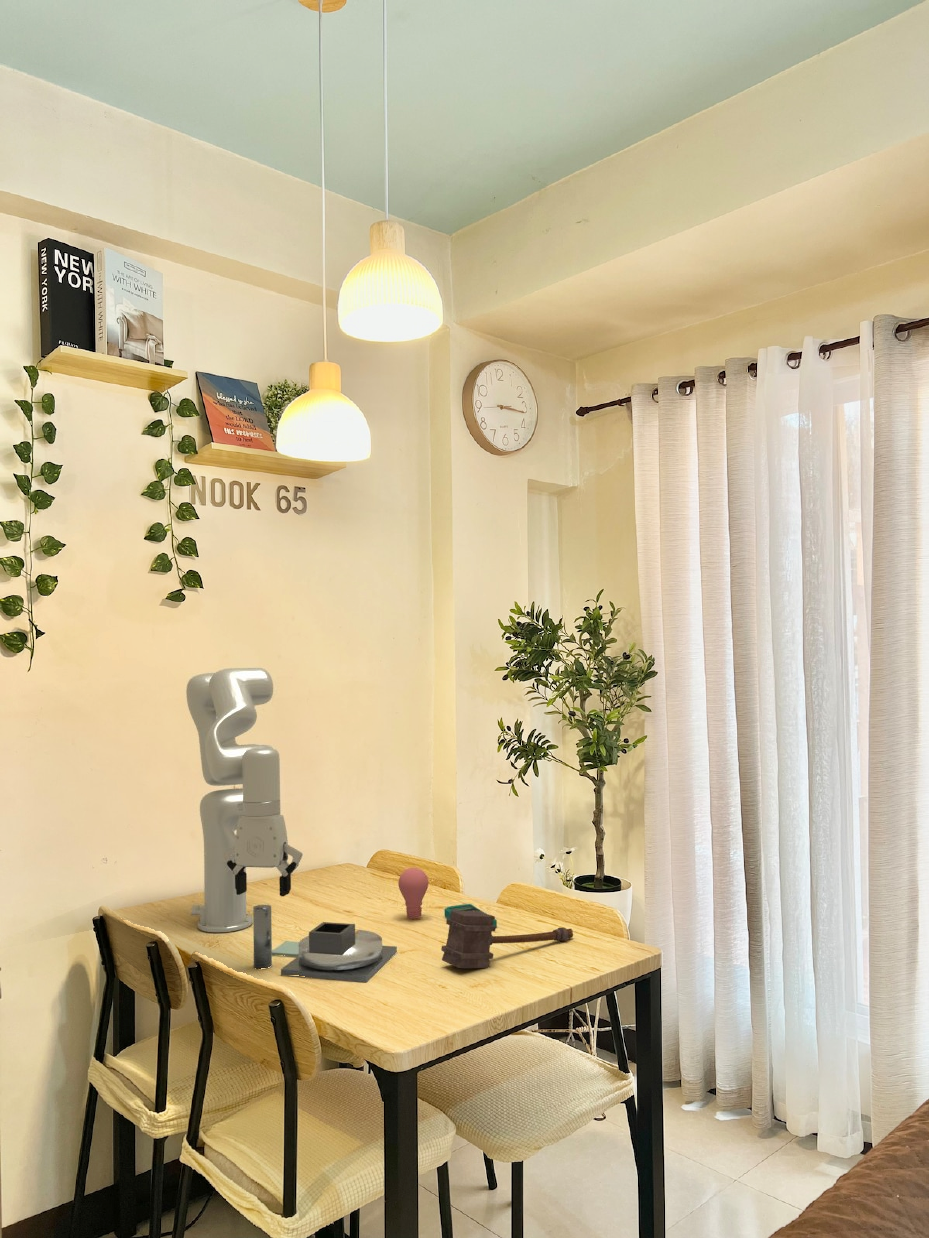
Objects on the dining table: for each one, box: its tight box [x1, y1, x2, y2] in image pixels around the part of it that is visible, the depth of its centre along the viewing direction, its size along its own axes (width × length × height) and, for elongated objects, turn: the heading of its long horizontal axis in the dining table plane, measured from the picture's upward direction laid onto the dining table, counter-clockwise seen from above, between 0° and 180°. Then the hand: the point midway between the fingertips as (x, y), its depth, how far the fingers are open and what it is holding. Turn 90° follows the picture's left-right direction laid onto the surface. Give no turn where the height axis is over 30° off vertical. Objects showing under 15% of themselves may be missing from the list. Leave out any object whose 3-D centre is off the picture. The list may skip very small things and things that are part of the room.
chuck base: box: [280, 945, 398, 983], centre depth 188 cm, size 18×18×1 cm
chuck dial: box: [298, 921, 383, 970], centre depth 188 cm, size 17×17×7 cm
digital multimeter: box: [444, 903, 498, 929], centre depth 215 cm, size 7×15×3 cm, turn 25°
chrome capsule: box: [252, 904, 273, 970], centre depth 187 cm, size 4×4×12 cm
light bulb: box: [398, 867, 429, 919], centre depth 219 cm, size 7×7×12 cm
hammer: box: [441, 910, 574, 969], centre depth 192 cm, size 7×33×10 cm, turn 127°
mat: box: [272, 940, 300, 957], centre depth 196 cm, size 8×8×1 cm
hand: (263, 893), depth 187 cm, fingers open, 9 cm apart
